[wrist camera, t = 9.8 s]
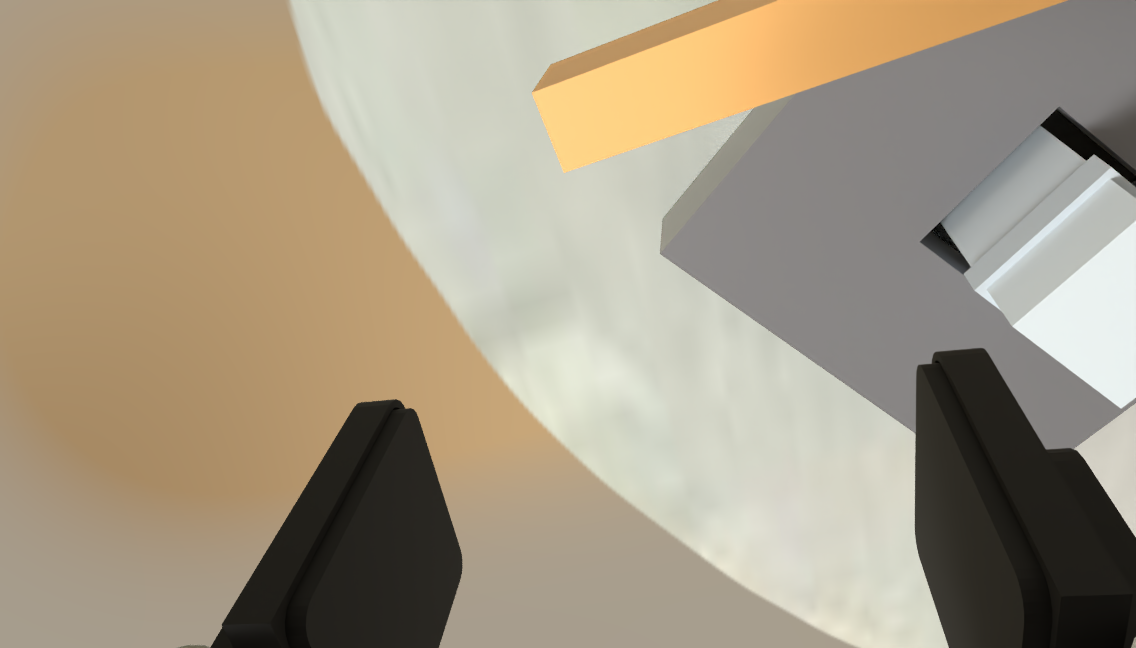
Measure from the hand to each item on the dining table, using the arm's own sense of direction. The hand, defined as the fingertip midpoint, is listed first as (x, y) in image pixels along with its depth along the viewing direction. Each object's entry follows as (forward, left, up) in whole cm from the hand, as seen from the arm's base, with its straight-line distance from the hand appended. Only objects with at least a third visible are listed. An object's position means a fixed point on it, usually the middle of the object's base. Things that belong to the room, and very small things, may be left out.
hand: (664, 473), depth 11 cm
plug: (-13, -4, -24) cm, 27 cm away
